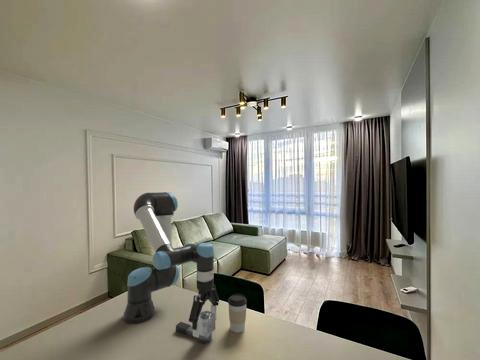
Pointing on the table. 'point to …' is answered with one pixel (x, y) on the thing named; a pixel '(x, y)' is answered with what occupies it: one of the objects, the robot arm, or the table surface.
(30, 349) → the table surface
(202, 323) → the socket
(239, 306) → the coffee cup
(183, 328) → the grey l-shaped piece
